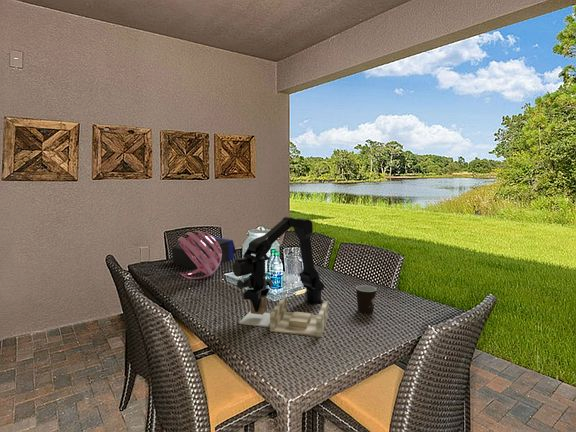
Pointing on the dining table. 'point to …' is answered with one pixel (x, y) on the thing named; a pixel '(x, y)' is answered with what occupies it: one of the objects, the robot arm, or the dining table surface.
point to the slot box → (298, 320)
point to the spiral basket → (201, 253)
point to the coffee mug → (365, 298)
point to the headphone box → (184, 259)
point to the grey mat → (256, 319)
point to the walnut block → (262, 306)
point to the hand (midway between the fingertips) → (258, 309)
